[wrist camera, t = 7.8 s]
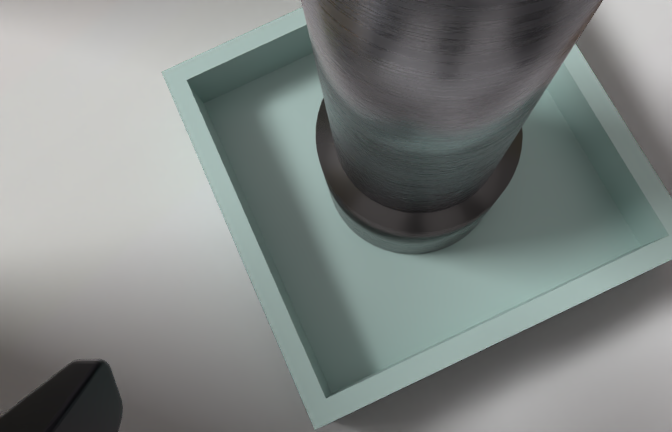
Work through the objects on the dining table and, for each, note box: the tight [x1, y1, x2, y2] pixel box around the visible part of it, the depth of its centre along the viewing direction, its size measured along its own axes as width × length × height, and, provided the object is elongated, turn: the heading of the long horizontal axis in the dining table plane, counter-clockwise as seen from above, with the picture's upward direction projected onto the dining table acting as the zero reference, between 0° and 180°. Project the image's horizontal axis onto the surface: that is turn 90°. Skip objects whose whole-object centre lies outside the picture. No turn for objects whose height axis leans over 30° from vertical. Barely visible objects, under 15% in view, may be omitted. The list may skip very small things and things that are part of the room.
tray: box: [162, 7, 672, 430], centre depth 15 cm, size 10×10×2 cm
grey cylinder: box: [301, 0, 603, 254], centre depth 10 cm, size 4×4×12 cm
